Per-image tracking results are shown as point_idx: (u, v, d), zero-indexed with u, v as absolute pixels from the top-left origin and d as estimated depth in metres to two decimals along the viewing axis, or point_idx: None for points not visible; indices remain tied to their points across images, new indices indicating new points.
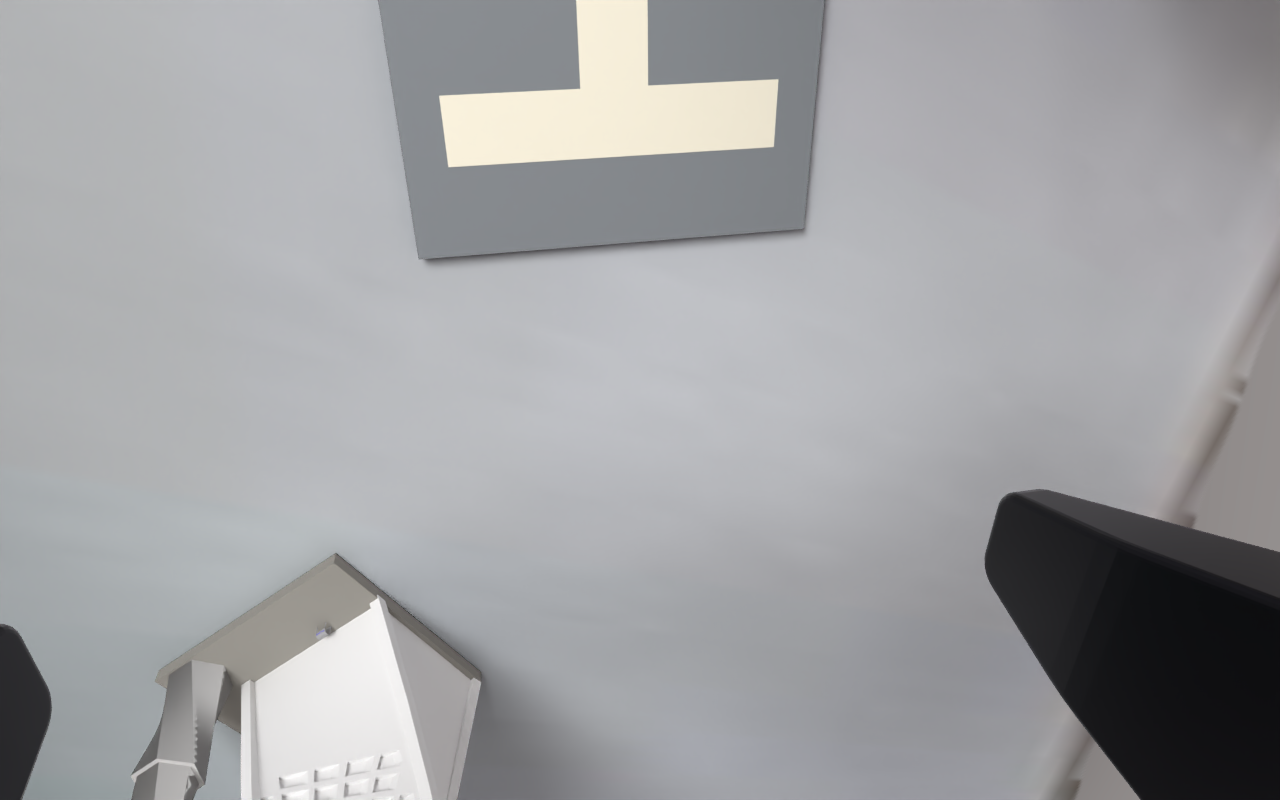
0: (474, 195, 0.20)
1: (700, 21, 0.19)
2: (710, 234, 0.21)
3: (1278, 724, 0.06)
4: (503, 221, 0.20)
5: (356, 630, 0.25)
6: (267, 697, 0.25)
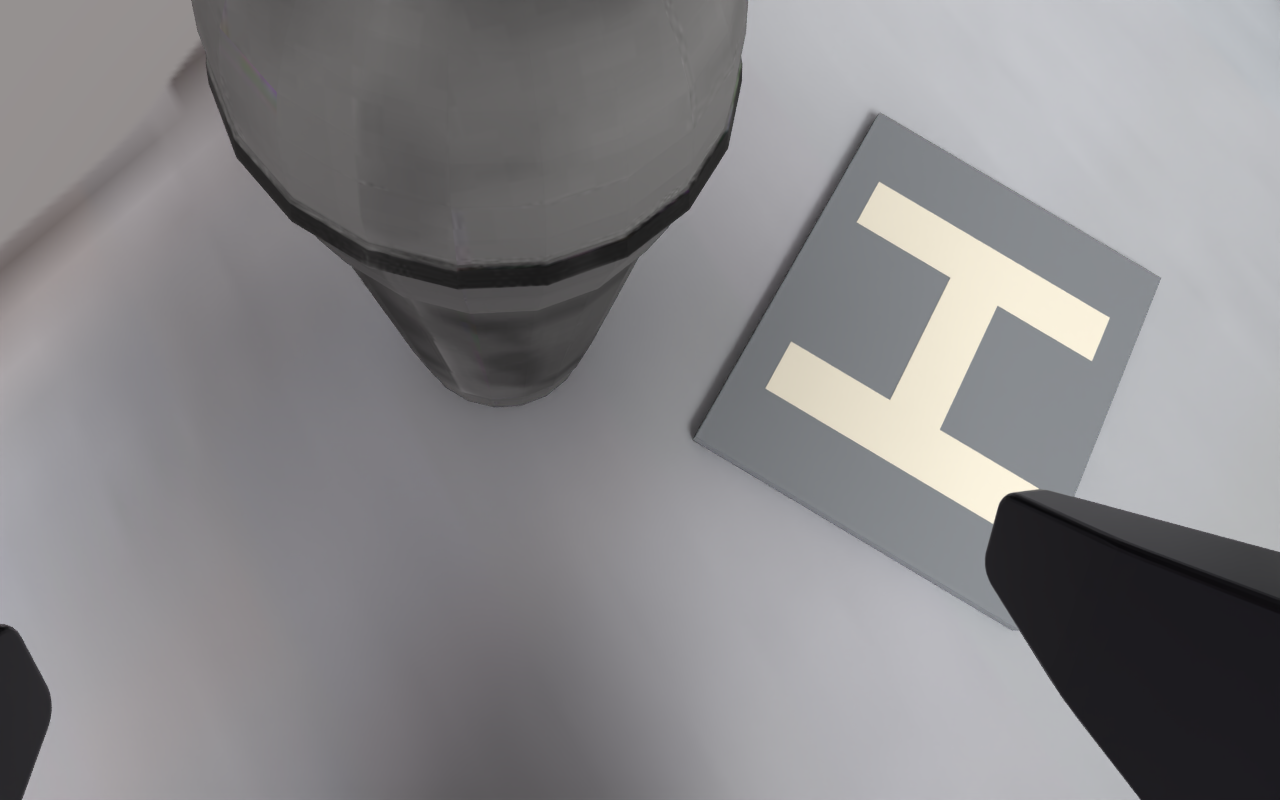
0: (1102, 290, 0.25)
1: (895, 291, 0.24)
2: (951, 155, 0.25)
3: (1278, 724, 0.06)
4: (1091, 262, 0.25)
5: None
6: None
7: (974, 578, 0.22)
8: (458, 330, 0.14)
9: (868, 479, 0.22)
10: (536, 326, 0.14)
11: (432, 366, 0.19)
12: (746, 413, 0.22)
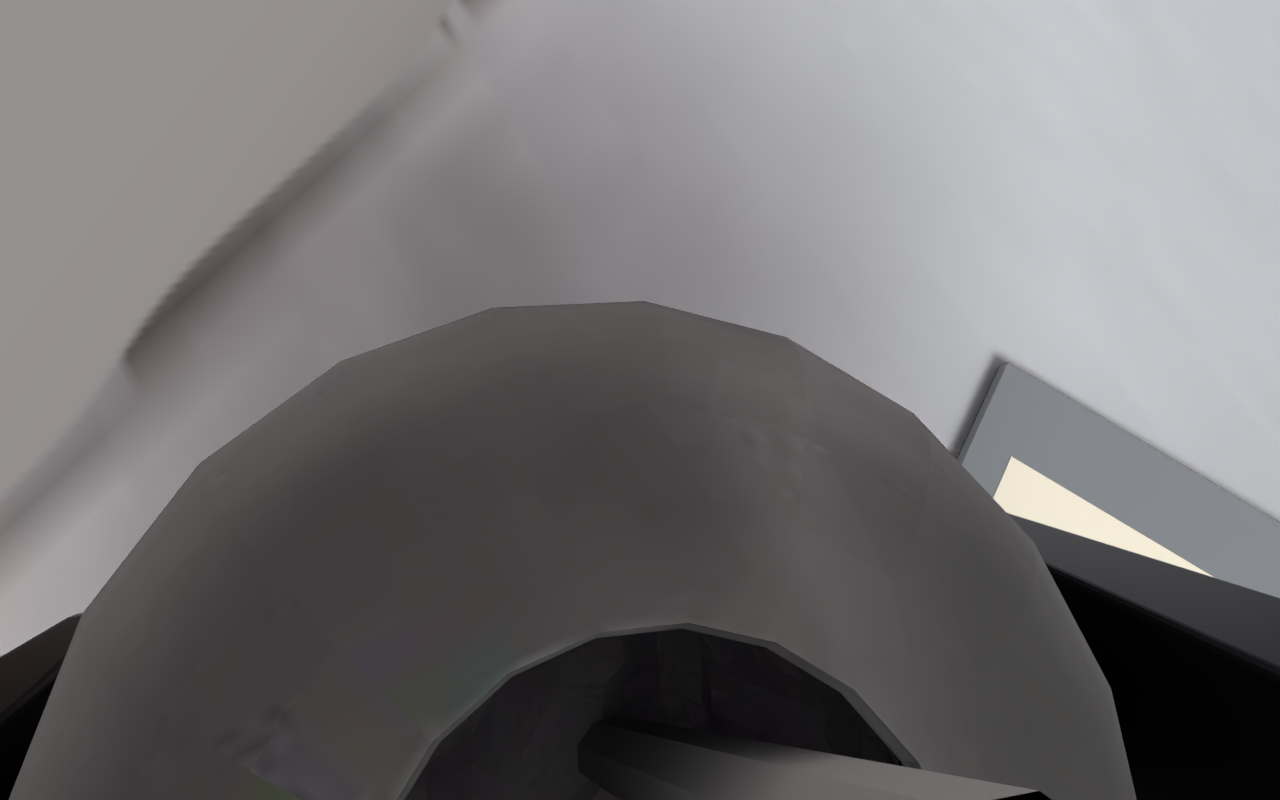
0: None
1: None
2: (1097, 416, 0.20)
3: (1167, 745, 0.05)
4: (1274, 553, 0.20)
5: None
6: None
7: None
8: None
9: None
10: None
11: None
12: None
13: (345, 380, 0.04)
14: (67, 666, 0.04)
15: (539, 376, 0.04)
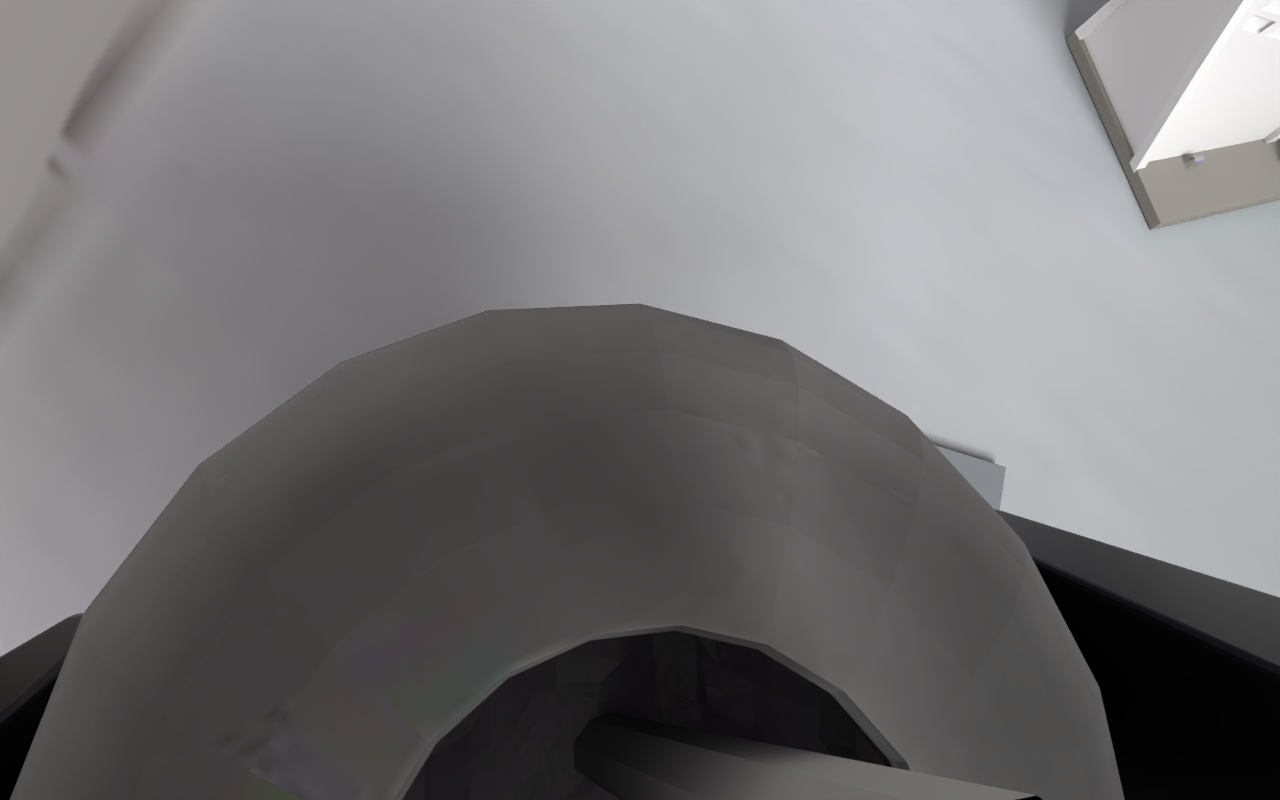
0: None
1: None
2: None
3: (1168, 745, 0.05)
4: None
5: (1170, 148, 0.26)
6: (1274, 124, 0.26)
7: None
8: None
9: None
10: None
11: None
12: None
13: (344, 383, 0.04)
14: (69, 666, 0.04)
15: (536, 380, 0.04)
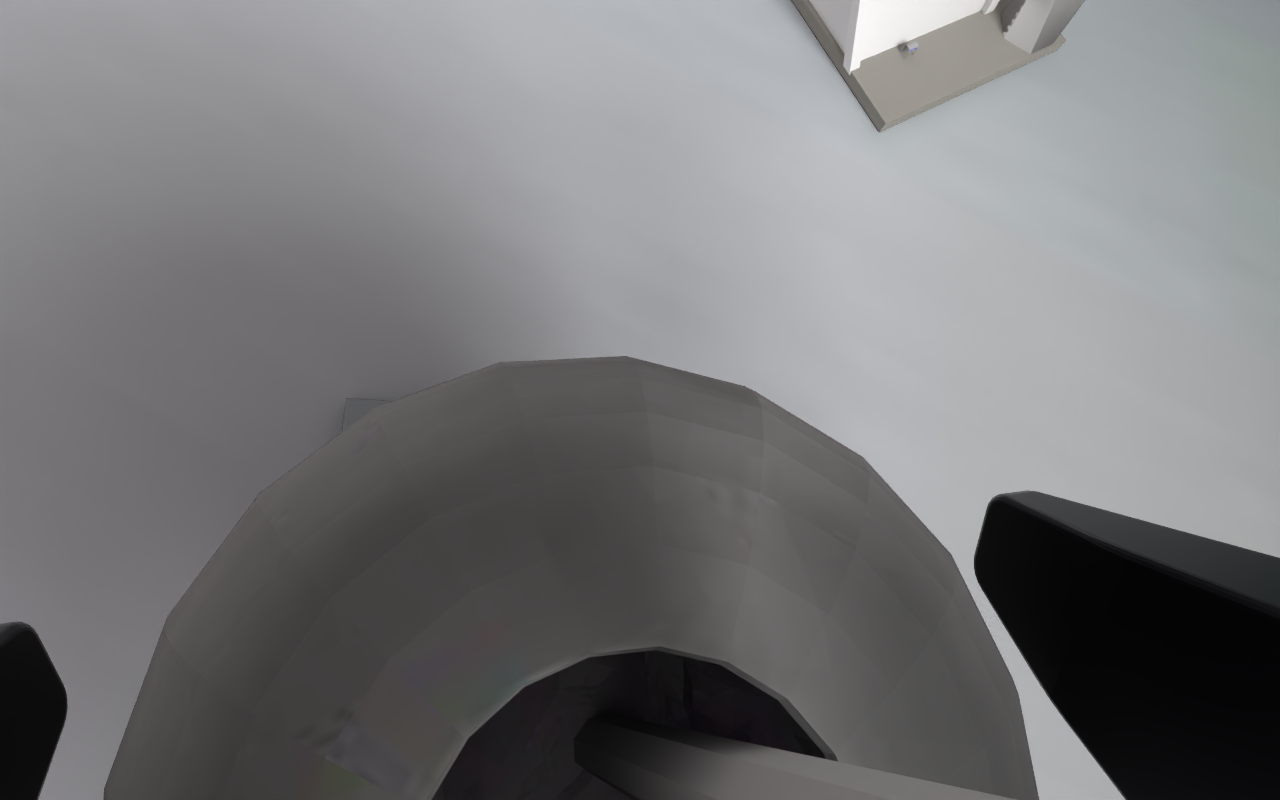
0: None
1: None
2: None
3: (1263, 727, 0.06)
4: None
5: (880, 41, 0.24)
6: None
7: None
8: None
9: None
10: None
11: None
12: None
13: (383, 436, 0.05)
14: (157, 673, 0.05)
15: (545, 440, 0.05)
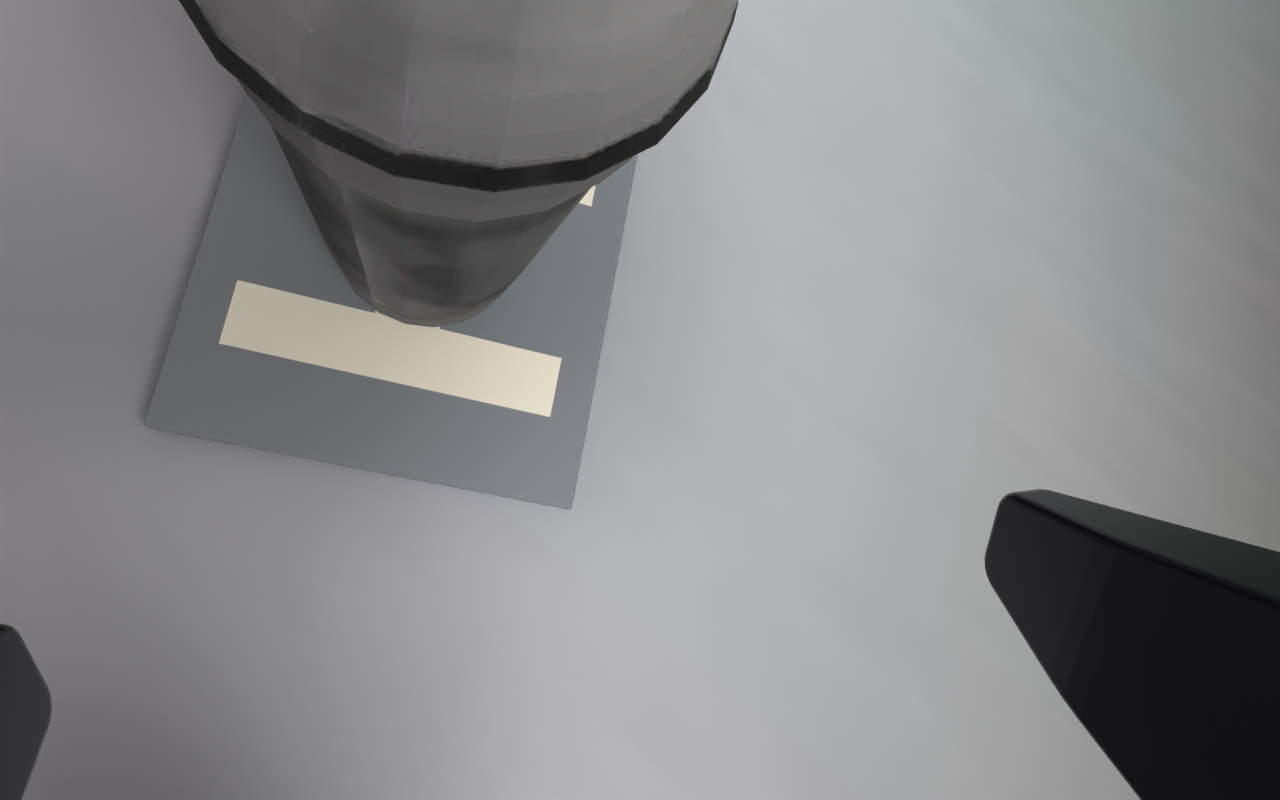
0: None
1: None
2: None
3: (1278, 724, 0.06)
4: None
5: None
6: None
7: (512, 473, 0.21)
8: (384, 229, 0.13)
9: (370, 407, 0.20)
10: (469, 240, 0.13)
11: (346, 267, 0.18)
12: (202, 379, 0.19)
13: None
14: None
15: None
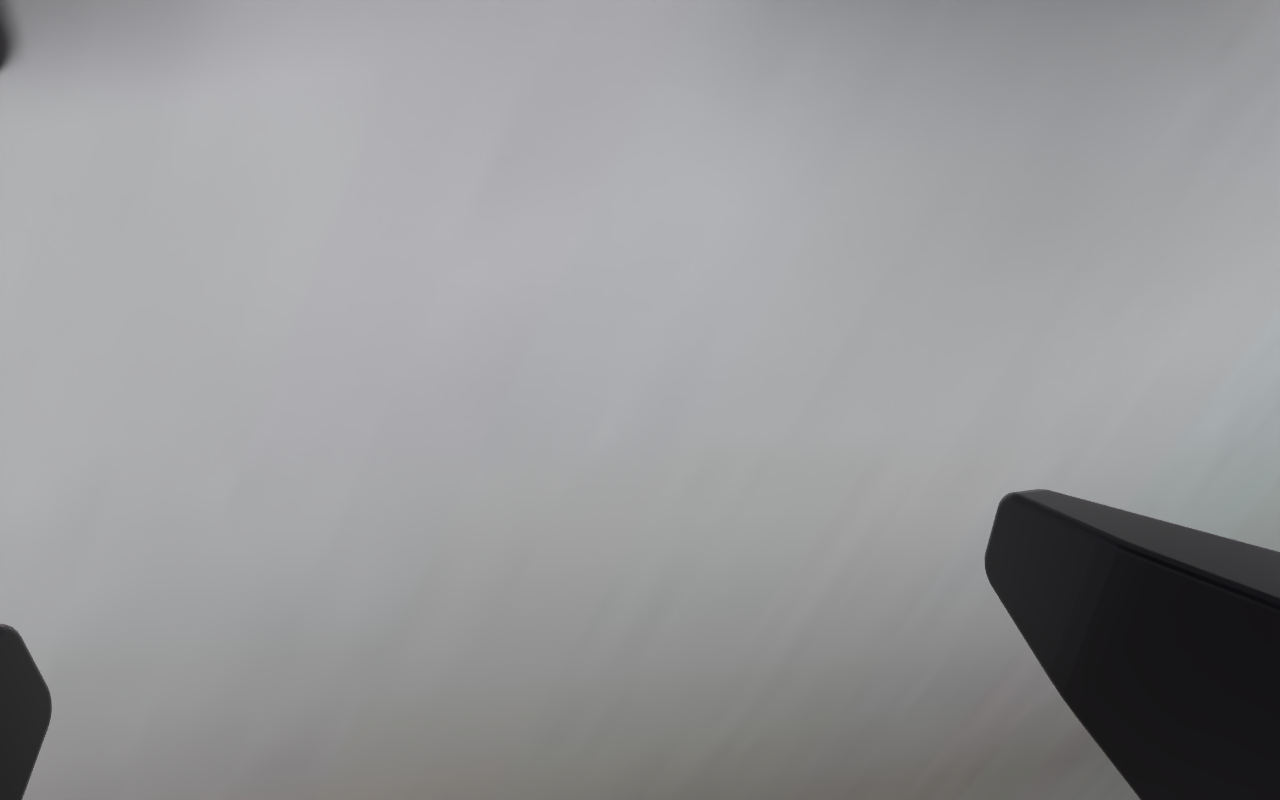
0: None
1: None
2: None
3: (1278, 724, 0.06)
4: None
5: None
6: None
7: None
8: None
9: None
10: None
11: None
12: None
13: None
14: None
15: None
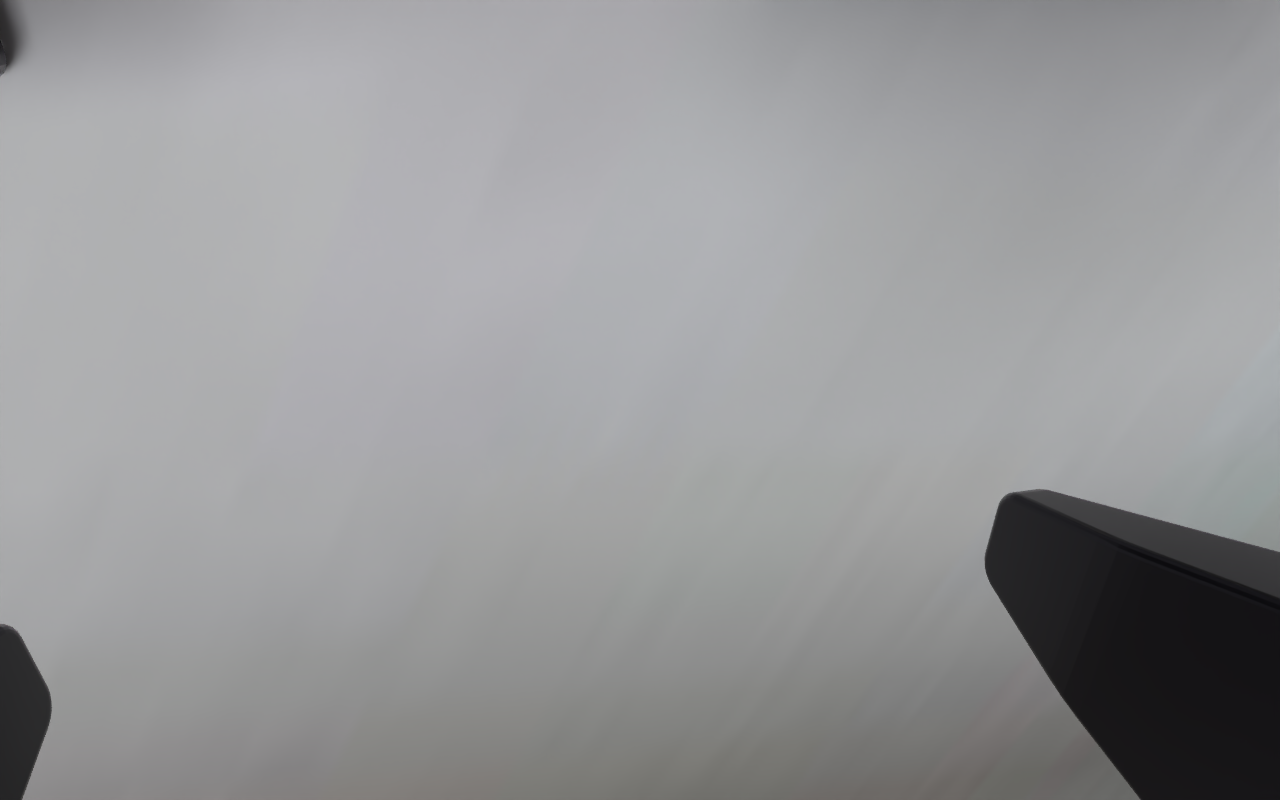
0: None
1: None
2: None
3: (1278, 724, 0.06)
4: None
5: None
6: None
7: None
8: None
9: None
10: None
11: None
12: None
13: None
14: None
15: None
